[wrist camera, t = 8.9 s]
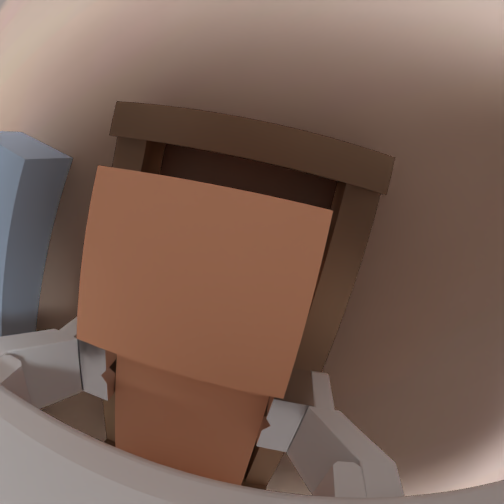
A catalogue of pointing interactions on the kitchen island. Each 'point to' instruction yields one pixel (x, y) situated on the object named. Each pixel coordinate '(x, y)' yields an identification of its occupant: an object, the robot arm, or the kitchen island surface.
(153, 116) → the cradle
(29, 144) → the panel
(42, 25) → the kitchen island surface
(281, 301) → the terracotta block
